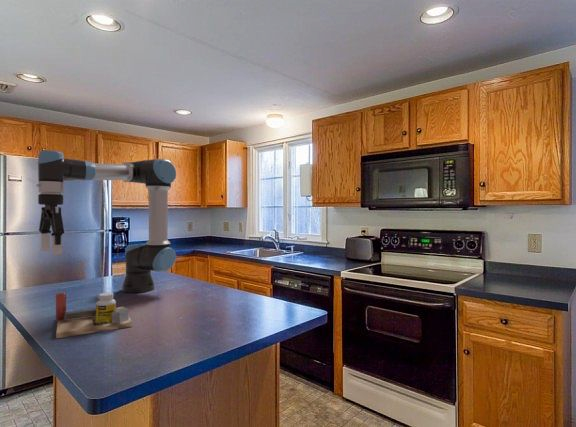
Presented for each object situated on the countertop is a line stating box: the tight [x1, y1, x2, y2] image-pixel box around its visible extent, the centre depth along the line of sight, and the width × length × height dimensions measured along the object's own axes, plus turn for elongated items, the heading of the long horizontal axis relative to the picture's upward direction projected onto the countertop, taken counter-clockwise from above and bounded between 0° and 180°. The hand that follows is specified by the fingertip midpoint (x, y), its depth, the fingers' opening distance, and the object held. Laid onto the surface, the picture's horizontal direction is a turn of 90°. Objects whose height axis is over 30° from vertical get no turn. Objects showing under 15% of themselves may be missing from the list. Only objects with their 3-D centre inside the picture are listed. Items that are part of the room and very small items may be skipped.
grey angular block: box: [112, 307, 130, 329], centre depth 123 cm, size 5×3×6 cm, turn 172°
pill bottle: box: [95, 292, 117, 326], centre depth 124 cm, size 6×6×11 cm
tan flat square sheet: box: [55, 306, 133, 339], centre depth 126 cm, size 22×22×2 cm
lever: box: [55, 292, 96, 322], centre depth 126 cm, size 16×4×9 cm, turn 122°
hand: (51, 252), depth 128 cm, fingers open, 13 cm apart
